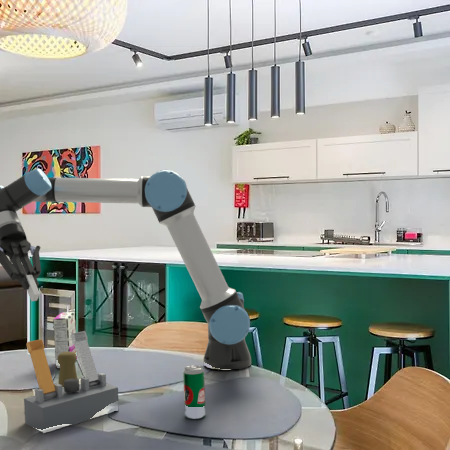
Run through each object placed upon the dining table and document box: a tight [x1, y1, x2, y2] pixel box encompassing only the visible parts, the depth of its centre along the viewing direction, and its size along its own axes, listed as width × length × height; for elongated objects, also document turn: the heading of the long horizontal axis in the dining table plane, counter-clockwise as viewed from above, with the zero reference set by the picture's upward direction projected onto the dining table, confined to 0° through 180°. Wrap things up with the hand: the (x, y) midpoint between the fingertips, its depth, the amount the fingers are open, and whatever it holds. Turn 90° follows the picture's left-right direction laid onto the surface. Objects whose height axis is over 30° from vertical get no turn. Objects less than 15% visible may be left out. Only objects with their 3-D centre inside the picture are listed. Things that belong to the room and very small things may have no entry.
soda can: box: [182, 364, 206, 407], centre depth 142 cm, size 5×5×12 cm
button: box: [64, 378, 80, 393], centre depth 145 cm, size 4×4×2 cm
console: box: [23, 372, 120, 430], centre depth 145 cm, size 10×20×9 cm, turn 132°
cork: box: [57, 352, 79, 387], centre depth 166 cm, size 6×6×11 cm
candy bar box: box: [52, 311, 77, 361], centre depth 195 cm, size 11×5×16 cm, turn 3°
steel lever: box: [70, 330, 100, 387], centre depth 151 cm, size 2×4×14 cm
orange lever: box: [25, 338, 57, 399], centre depth 143 cm, size 2×4×14 cm
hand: (35, 297), depth 151 cm, fingers closed
